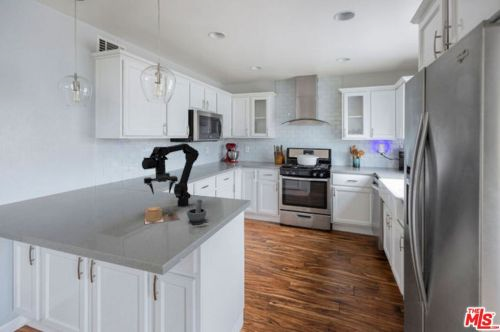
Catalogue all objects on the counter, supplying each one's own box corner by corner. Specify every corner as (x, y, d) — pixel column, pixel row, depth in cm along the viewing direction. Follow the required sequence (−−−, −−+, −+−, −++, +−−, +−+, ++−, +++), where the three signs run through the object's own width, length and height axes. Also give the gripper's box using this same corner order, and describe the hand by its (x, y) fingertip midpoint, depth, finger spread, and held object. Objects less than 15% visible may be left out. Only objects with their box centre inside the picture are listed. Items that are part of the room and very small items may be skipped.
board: (176, 215, 150) (176, 204, 150) (180, 222, 138) (180, 210, 137) (143, 219, 143) (142, 208, 142) (144, 227, 130) (143, 215, 130)
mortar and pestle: (202, 227, 130) (201, 204, 129) (184, 226, 132) (184, 203, 130) (209, 220, 141) (208, 199, 140) (193, 219, 143) (192, 198, 141)
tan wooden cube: (162, 218, 138) (161, 207, 138) (154, 222, 133) (154, 210, 132) (153, 217, 141) (152, 206, 140) (145, 221, 135) (144, 209, 134)
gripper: (144, 170, 140) (145, 198, 142) (178, 168, 148) (179, 194, 150) (143, 168, 150) (144, 194, 152) (175, 166, 158) (176, 191, 160)
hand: (161, 193), depth 153 cm, fingers open, 9 cm apart
